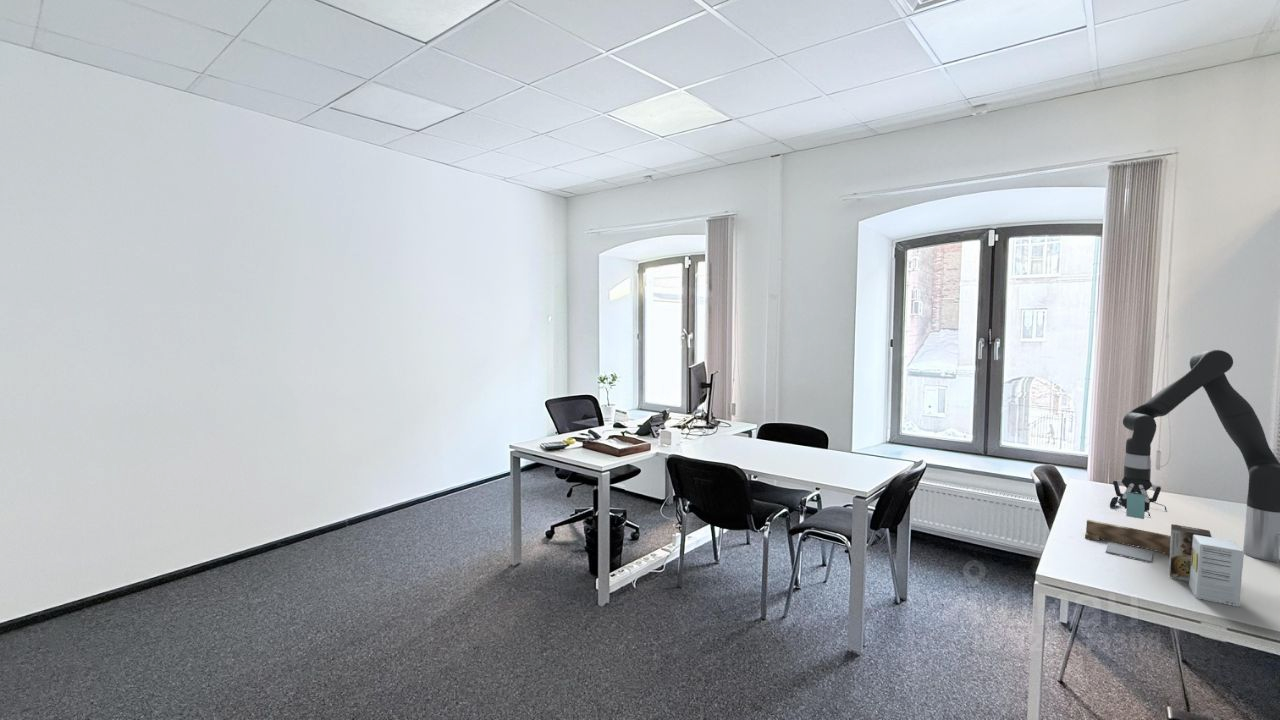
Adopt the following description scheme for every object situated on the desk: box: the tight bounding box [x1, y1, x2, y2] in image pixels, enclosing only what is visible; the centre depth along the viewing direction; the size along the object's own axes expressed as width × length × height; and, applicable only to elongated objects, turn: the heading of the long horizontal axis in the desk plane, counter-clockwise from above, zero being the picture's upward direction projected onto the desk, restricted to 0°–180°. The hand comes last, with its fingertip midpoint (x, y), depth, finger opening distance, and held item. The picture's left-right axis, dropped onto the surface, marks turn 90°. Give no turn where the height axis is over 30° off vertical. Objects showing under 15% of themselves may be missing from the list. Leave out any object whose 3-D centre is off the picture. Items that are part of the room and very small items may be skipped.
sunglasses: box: [1109, 496, 1168, 517], centre depth 244 cm, size 17×15×5 cm
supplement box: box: [1188, 535, 1245, 608], centre depth 165 cm, size 10×9×17 cm
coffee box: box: [1168, 523, 1213, 582], centre depth 177 cm, size 9×6×16 cm
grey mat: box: [1105, 541, 1154, 563], centre depth 197 cm, size 12×12×1 cm
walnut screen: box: [1084, 519, 1171, 557], centre depth 204 cm, size 26×8×6 cm, turn 45°
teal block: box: [1125, 491, 1146, 520], centre depth 209 cm, size 5×5×9 cm
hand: (1135, 509), depth 210 cm, fingers closed on teal block, 5 cm apart
